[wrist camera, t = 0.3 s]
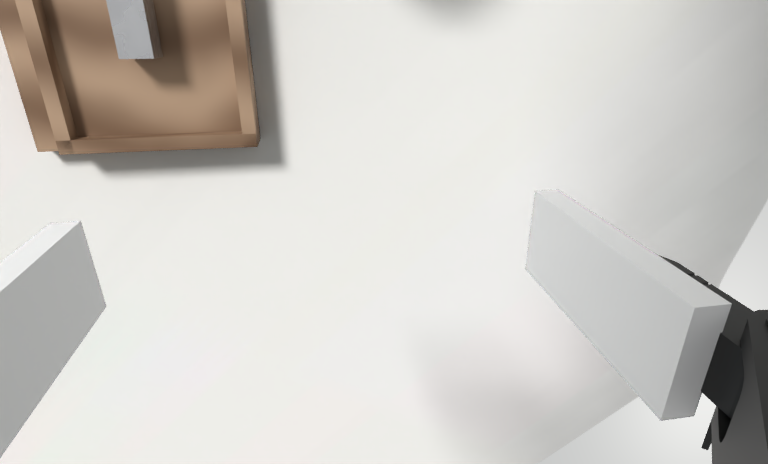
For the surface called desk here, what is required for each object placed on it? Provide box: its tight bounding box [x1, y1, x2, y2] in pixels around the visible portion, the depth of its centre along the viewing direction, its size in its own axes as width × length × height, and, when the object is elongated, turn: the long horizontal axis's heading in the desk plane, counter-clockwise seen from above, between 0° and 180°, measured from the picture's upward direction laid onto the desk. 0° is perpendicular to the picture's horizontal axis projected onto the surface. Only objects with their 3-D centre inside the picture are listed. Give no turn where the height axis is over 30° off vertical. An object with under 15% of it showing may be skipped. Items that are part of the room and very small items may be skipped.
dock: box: [0, 0, 260, 155], centre depth 32 cm, size 17×16×4 cm
